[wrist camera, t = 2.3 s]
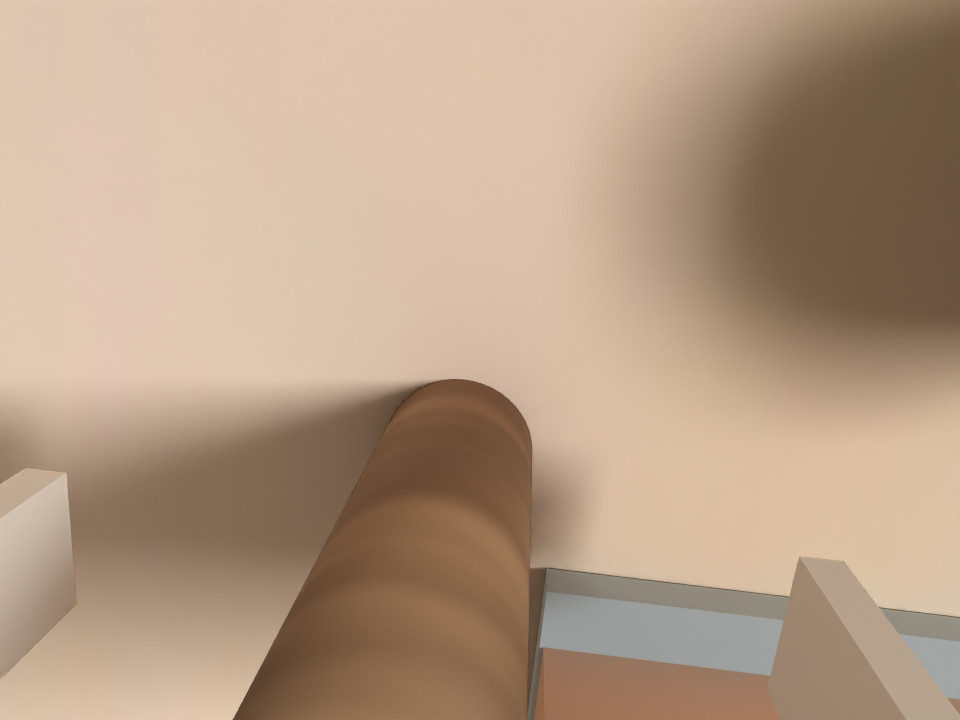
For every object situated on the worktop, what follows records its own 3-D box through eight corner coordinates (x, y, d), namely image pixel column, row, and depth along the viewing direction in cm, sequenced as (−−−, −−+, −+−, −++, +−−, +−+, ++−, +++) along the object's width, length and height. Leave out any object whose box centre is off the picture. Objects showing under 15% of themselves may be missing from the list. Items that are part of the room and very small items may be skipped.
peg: (389, 371, 17) (101, 823, 6) (540, 387, 17) (543, 886, 6) (382, 506, 18) (126, 1109, 7) (524, 523, 18) (500, 1170, 7)
